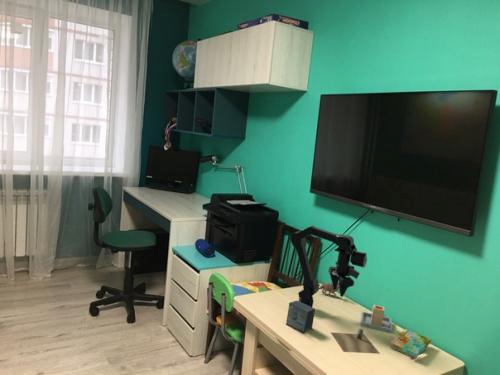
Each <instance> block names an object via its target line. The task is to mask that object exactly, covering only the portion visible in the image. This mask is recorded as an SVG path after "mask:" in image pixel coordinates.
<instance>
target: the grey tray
mask: <svg viewBox="0 0 500 375" xmlns="http://www.w3.org/2000/svg"><path fill="white" fill-rule="evenodd" d="M371 316H372V312H366V311H361V315H360V317H361V318H360V319H361V320H360V326H361V327H365V328H369V329H373V330H378V331H382V332H385V333H386V332H387V333H390V334H392V333H393V324H392V323H393V322H392V318H390V317H387V316H383V322H382V323H385V326H383V325H382V327H381V326H377V325H373V324H371Z"/></svg>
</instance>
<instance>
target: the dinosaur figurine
mask: <svg viewBox="0 0 500 375" xmlns="http://www.w3.org/2000/svg"><path fill="white" fill-rule="evenodd" d="M319 290H321V293H323V294H324V295H323V296H324V297H325V296H326V297H327V292H328V294H329V297H330V298H332V295H331V294H333V295H335V296H337V294H336V292H338V291H339V284H337V288H336V289H334V288H333V284H332V283H331V282H323V283H322V285H320V286H319Z"/></svg>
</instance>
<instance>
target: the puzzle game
mask: <svg viewBox="0 0 500 375" xmlns="http://www.w3.org/2000/svg"><path fill="white" fill-rule="evenodd" d="M431 342H432V339H431V338H429V337H426V336H424V335H421V334H418V333H417V332H414V331H412V330H409V329H406V328H405V329H404V330H402V331H401V332H400V333H398V335H396V336H395V337H393V338H392V339H391V340H390V341H389V342H388V343H389V344H388V346H389V348H390V349H393V350H395V351H398V352H400V353H401V354H404V355H406V356H407V357H410V359H411V360H416V359H417V358H418V357H419V356H420V354H422V352H423V351H424V350H426V349H427V347H428V346H429V345H430V344H431Z"/></svg>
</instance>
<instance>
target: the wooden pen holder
mask: <svg viewBox="0 0 500 375" xmlns="http://www.w3.org/2000/svg"><path fill="white" fill-rule="evenodd" d="M371 314H372V316H371V324H373V325H377V326H381V327H382V325H383V326H385V323H382V322H383V317H385V306H383V305H382V306H381V305H377V304H373V305H372V310H371Z"/></svg>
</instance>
